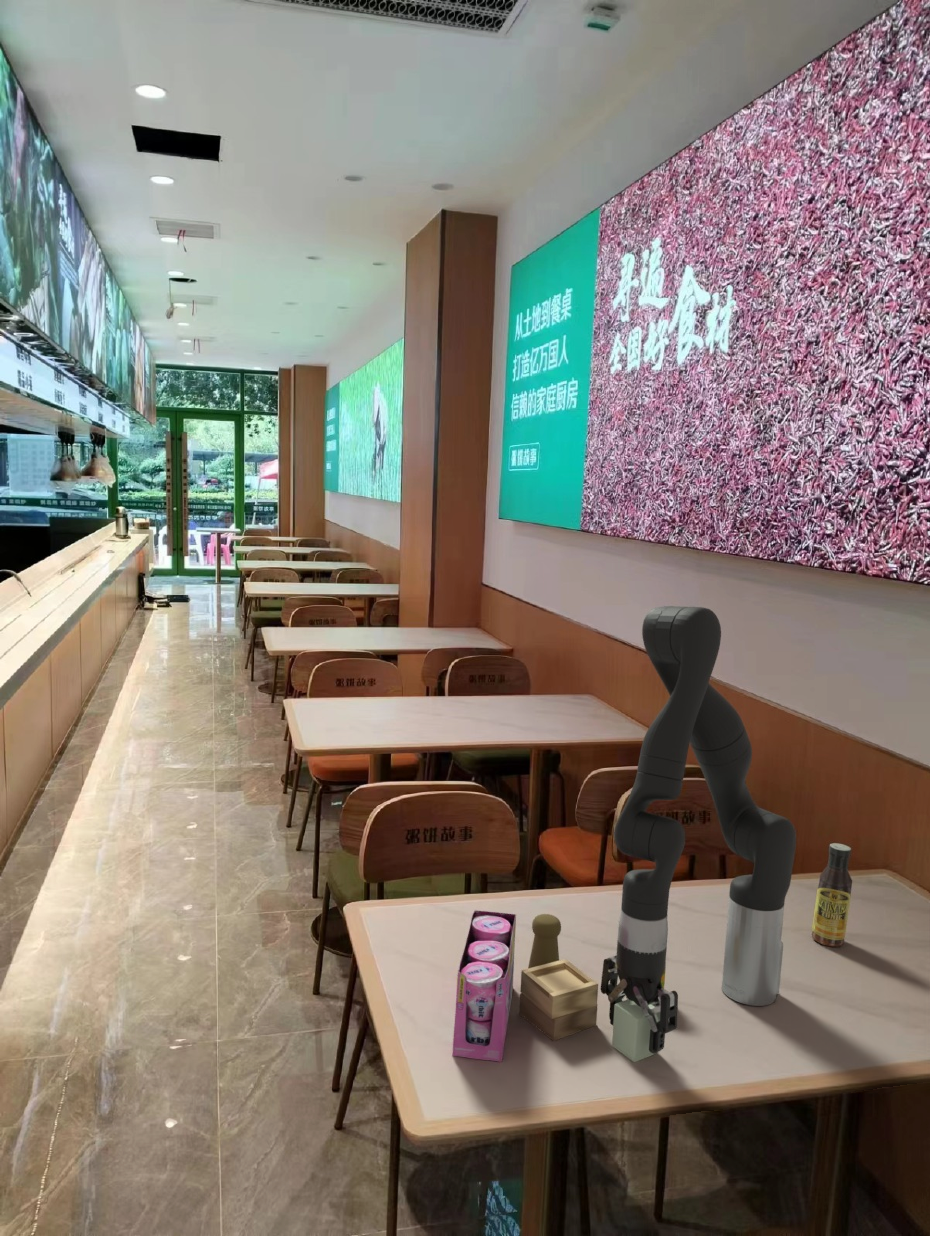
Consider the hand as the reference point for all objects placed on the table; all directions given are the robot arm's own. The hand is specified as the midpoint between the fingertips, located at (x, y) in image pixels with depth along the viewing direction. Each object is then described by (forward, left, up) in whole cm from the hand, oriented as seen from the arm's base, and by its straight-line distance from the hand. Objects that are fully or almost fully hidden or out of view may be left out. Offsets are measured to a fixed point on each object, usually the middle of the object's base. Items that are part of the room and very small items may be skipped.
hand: (635, 1037), depth 143 cm
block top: (+5, -13, +2) cm, 14 cm away
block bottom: (+5, -13, -2) cm, 14 cm away
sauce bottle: (-61, -7, -2) cm, 61 cm away
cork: (-2, -25, -2) cm, 25 cm away
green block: (0, 0, -2) cm, 2 cm away
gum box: (+16, -19, -2) cm, 24 cm away
